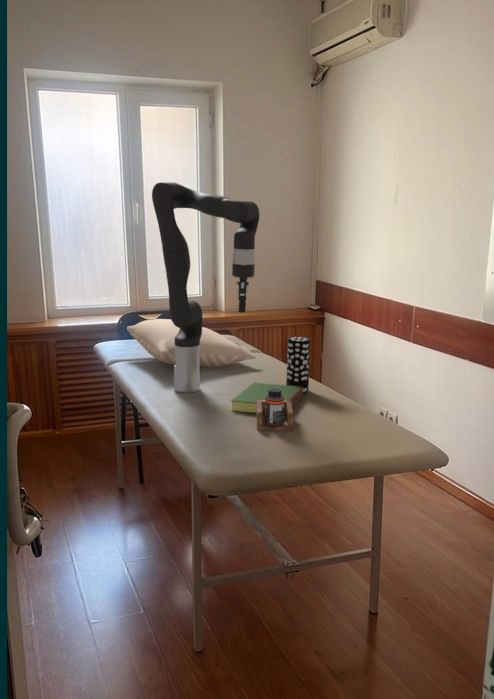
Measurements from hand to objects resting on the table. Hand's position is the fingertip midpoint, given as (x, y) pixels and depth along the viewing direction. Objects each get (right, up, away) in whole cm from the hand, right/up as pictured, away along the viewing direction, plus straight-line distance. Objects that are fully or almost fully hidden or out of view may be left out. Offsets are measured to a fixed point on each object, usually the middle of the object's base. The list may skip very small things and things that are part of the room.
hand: (242, 310), depth 209 cm
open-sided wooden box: (+10, -37, -14) cm, 41 cm away
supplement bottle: (+10, -37, -17) cm, 42 cm away
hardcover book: (+9, -33, +5) cm, 34 cm away
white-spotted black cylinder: (+20, -29, +20) cm, 41 cm away
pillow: (-23, -20, +58) cm, 65 cm away
